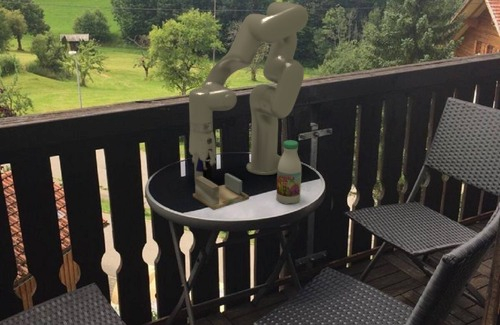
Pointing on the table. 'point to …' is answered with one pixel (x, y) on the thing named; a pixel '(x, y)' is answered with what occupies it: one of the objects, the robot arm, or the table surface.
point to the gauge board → (223, 197)
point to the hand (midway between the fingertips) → (202, 175)
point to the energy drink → (198, 166)
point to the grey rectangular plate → (233, 184)
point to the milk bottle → (289, 174)
